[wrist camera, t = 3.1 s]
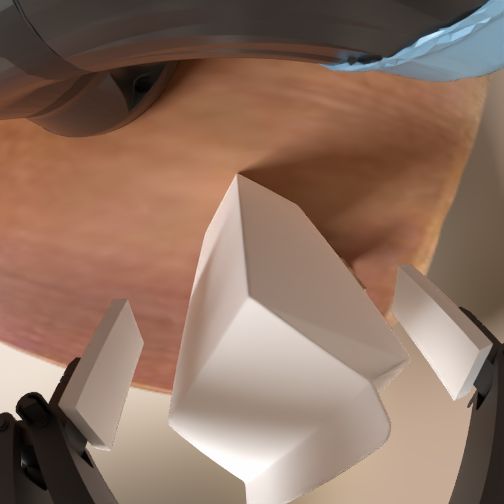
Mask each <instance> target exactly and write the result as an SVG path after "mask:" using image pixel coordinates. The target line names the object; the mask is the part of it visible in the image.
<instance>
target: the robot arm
mask: <svg viewBox="0 0 504 504" xmlns="http://www.w3.org/2000/svg"><path fill="white" fill-rule="evenodd" d="M197 58H262V59H278V60H290V61H300V62H309V63H317V64H319V65H322V66H325V67H327V68H329V69H331V70H335V71H342V72H367V71H372V70H373V71H379V72H384V73H390V74H394V75H399V76H404V77H408V78H412V79H417V80H423V81H432V82H450V81H456V80H458V79H461V78H471V77H480V76H483V75H487V74H490V73H493V72H496V71H498V70H500V69H503V68H504V0H0V120H6V119H17V118H26V119H28V120H30V121H32V122H34V123H35V124H37V125H39V126H41V127H43V128H44V129H46V130H47V131H49V132H52V133H54V134H57V135H61V136H66V137H87V136H96V135H101V134H105V133H108V132H111V131H114V130H116V129H119V128H121V127H123V126H125V125H126V124H128V123H130V122H131V121H133V120H134V119H136V118H137V117H138V116H140V115H141V114H142V113H143V112H145V111H146V110H147V109H148V108H149V107H150V106H151V105H152V104H153V103H154V102H155V101H156V99H157V98H158V97H159V96H160V94H161V93H162V92H163V90H164V89H165V87H166V86H167V84H168V83H169V81H170V79H171V77H172V75H173V73H174V71H175V69H176V66H177V63H178V60H181V59H197ZM391 312H392V313H393V315H394V316H395V317H396V318H397V320H398V321H399V322H400V324H401V325H402V326H403V328H404V329H405V330H406V332H407V333H408V335H409V336H410V337H411V339H412V340H413V341H414V343H415V344H416V346H417V347H418V348H419V350H420V351H421V353H422V354H423V355H424V357H425V358H426V360H427V361H428V363H429V364H430V365H431V367H432V368H433V370H434V371H435V373H436V374H437V376H438V377H439V378H440V380H441V382H442V383H443V385H444V386H445V388H446V389H447V390H448V392H449V394H450V395H451V397H452V398H453V400H454V401H455V400H457V399H459V398H462V397H464V396H466V395H467V394H468V393H469V391H470V389H471V387H472V386H473V385H474V386H475V387H476V389H477V390H476V392H475V393H474V395H473V397H472V399H471V400H470V402H469V404H468V406H467V407H468V408H469V407H470V406H471V404H472V403H473V407H472V414H471V420H470V426H469V431H468V436H467V441H466V446H465V450H464V454H463V458H462V463H461V466H460V470H459V473H458V476H457V480H456V483H455V486H454V490H453V492H452V496H451V498H450V501H449V504H504V343H503V344H501V343H500V342H499V341H498V340H497V339H496V338H495V336H494V335H493V334H492V333H491V332H490V331H489V330H488V329H487V328H486V327H485V326H484V325H482V323H481V322H480V321H479V320H477V318H476V317H475V316H474V315H473V314H472V313H471V312H470V311H468V310H466V309H464V308H462V307H457V306H456V305H455V304H454V303H453V302H452V301H451V300H450V299H449V298H448V297H447V296H446V295H444V294H443V293H442V292H441V291H440V290H439V289H438V288H437V287H436V286H435V285H434V284H433V283H432V282H431V281H429V280H428V279H427V278H426V277H425V276H424V275H423V274H422V273H421V272H420V271H418V270H417V269H416V268H415V267H414V266H413V265H412V264H405V265H399V266H398V271H397V279H396V286H395V292H394V299H393V305H392V311H391ZM143 345H144V342H143V340H142V337H141V335H140V332H139V329H138V327H137V324H136V321H135V318H134V316H133V313H132V310H131V307H130V304H129V301H128V299H119V300H114V301H113V302H112V304H111V306H110V307H109V309H108V311H107V312H106V314H105V316H104V318H103V319H102V321H101V323H100V324H99V326H98V328H97V330H96V332H95V333H94V335H93V337H92V339H91V341H90V342H89V344H88V346H87V348H86V350H85V352H84V353H83V355H82V357H81V358H75V359H74V360H73V361H72V362H71V363H70V364H69V365H68V366H67V368H66V370H65V372H64V376H62V378H61V380H60V383H59V384H58V385H57V387H56V389H55V392H54V393H53V395H52V398H51V399H50V401H49V404H48V403H47V402H46V400H45V399H44V398H43V397H42V395H41V394H39V393H37V392H31V393H27V394H26V395H24V396H23V397H21V399H20V400H19V401H18V403H17V405H16V413H17V414H18V415H19V416H20V417H21V418H22V420H19V421H17V420H16V419H15V418H14V417H13V416H12V414H10V413H8V412H4V413H1V414H0V504H118V502H117V500H116V499H115V497H114V496H113V494H112V492H111V491H110V489H109V488H108V486H107V484H106V482H105V481H104V479H103V477H102V475H101V474H100V472H99V470H98V468H97V467H96V465H95V463H94V461H93V459H92V457H91V455H90V453H89V451H88V450H87V449H86V448H85V447H86V444H87V441H88V442H89V443H90V444H91V445H92V446H93V447H94V448H95V449H101V450H108V451H111V450H112V446H113V442H114V439H115V435H116V431H117V428H118V424H119V421H120V417H121V414H122V410H123V406H124V403H125V400H126V397H127V394H128V390H129V387H130V384H131V381H132V378H133V375H134V371H135V368H136V365H137V362H138V359H139V356H140V353H141V350H142V348H143ZM21 461H22V466H21Z"/></svg>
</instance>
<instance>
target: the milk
mask: <svg viewBox="0 0 504 504" xmlns="http://www.w3.org/2000/svg"><path fill="white" fill-rule="evenodd" d="M410 361H411V358H410V356H409V355H408V353H407V352H406V350H405V349H404V347H403V346H402V344H401V343H400V341H399V340H398V338H397V337H396V335H395V334H394V332H393V331H392V329H391V328H390V326H389V325H388V324H387V322H386V321H385V319H384V318H383V316H382V315H381V314H380V312H379V311H378V309H377V308H376V306H375V305H374V304H373V302H372V301H371V299H370V298H369V297H368V295H367V294H366V293H365V291H364V290H363V288H362V287H361V286H360V284H359V283H358V282H357V280H356V279H355V278H354V276H353V275H352V274H351V272H350V271H349V270H348V268H347V267H346V266H345V264H344V263H343V262H342V260H341V259H340V258H339V256H338V255H337V254H336V253H335V251H334V250H333V249H332V247H331V246H330V245H329V244H328V242H327V241H326V240H325V238H324V237H323V236H322V235H321V233H320V232H319V231H318V230H317V228H316V227H315V226H314V225H313V223H312V222H311V221H310V220H309V218H308V217H307V216H306V215H305V214H304V212H303V211H302V210H301V209H300V207H299V206H298V205H297V204H295V203H293V202H291V201H289V200H287V199H286V198H284V197H282V196H280V195H278V194H276V193H275V192H273V191H271V190H269V189H267V188H265V187H263V186H261V185H259V184H258V183H256V182H254V181H252V180H250V179H248V178H246V177H244V176H242V175H240V174H238V173H237V174H236V175H235V177H234V179H233V181H232V183H231V185H230V187H229V188H228V190H227V192H226V194H225V196H224V198H223V200H222V202H221V204H220V206H219V207H218V209H217V211H216V213H215V215H214V217H213V219H212V221H211V223H210V225H209V227H208V229H207V231H206V233H205V237H204V241H203V245H202V249H201V254H200V258H199V262H198V267H197V271H196V275H195V280H194V284H193V289H192V293H191V298H190V303H189V307H188V312H187V317H186V322H185V327H184V332H183V337H182V342H181V347H180V352H179V357H178V363H177V368H176V374H175V379H174V385H173V391H172V397H171V403H170V409H169V415H168V424H169V426H171V427H172V428H173V429H174V430H175V431H176V432H177V433H179V434H180V435H181V436H182V437H183V438H185V439H186V440H187V441H188V442H190V443H191V444H192V445H194V446H195V447H196V448H197V449H199V450H200V451H201V452H203V453H204V454H205V455H207V456H208V457H210V458H211V459H212V460H214V461H215V462H216V463H218V464H219V465H221V466H222V467H223V468H225V469H226V470H228V471H230V472H231V473H232V474H234V475H235V476H237V477H238V478H240V479H241V480H243V481H244V482H245V486H246V498H247V504H286V503H288V502H290V501H292V500H295V499H296V498H299V497H301V496H303V495H304V494H306V493H308V492H310V491H312V490H314V489H315V488H317V487H319V486H321V485H323V484H324V483H326V482H328V481H330V480H331V479H333V478H335V477H336V476H338V475H340V474H341V473H343V472H344V471H346V470H348V469H349V468H351V467H352V466H354V465H355V464H357V463H358V462H360V461H361V460H363V459H364V458H365V457H367V456H368V455H370V454H371V453H373V452H374V451H375V450H377V449H378V448H379V447H380V446H382V445H383V444H384V443H385V442H386V441H387V440H388V438H389V436H390V432H391V422H390V418H389V416H388V414H387V411H386V409H385V407H384V405H383V403H382V400H381V398H380V396H379V393H380V392H381V391H382V390H383V389H384V388H385V387H386V386H387V385H388V384H389V383H390V382H391V381H392V380H393V379H394V378H395V377H396V376H397V375H398V374H399V373H400V372H401V371H402V370H403V369H404V368H405V367H406V366H407V365H408V363H409V362H410Z"/></svg>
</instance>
